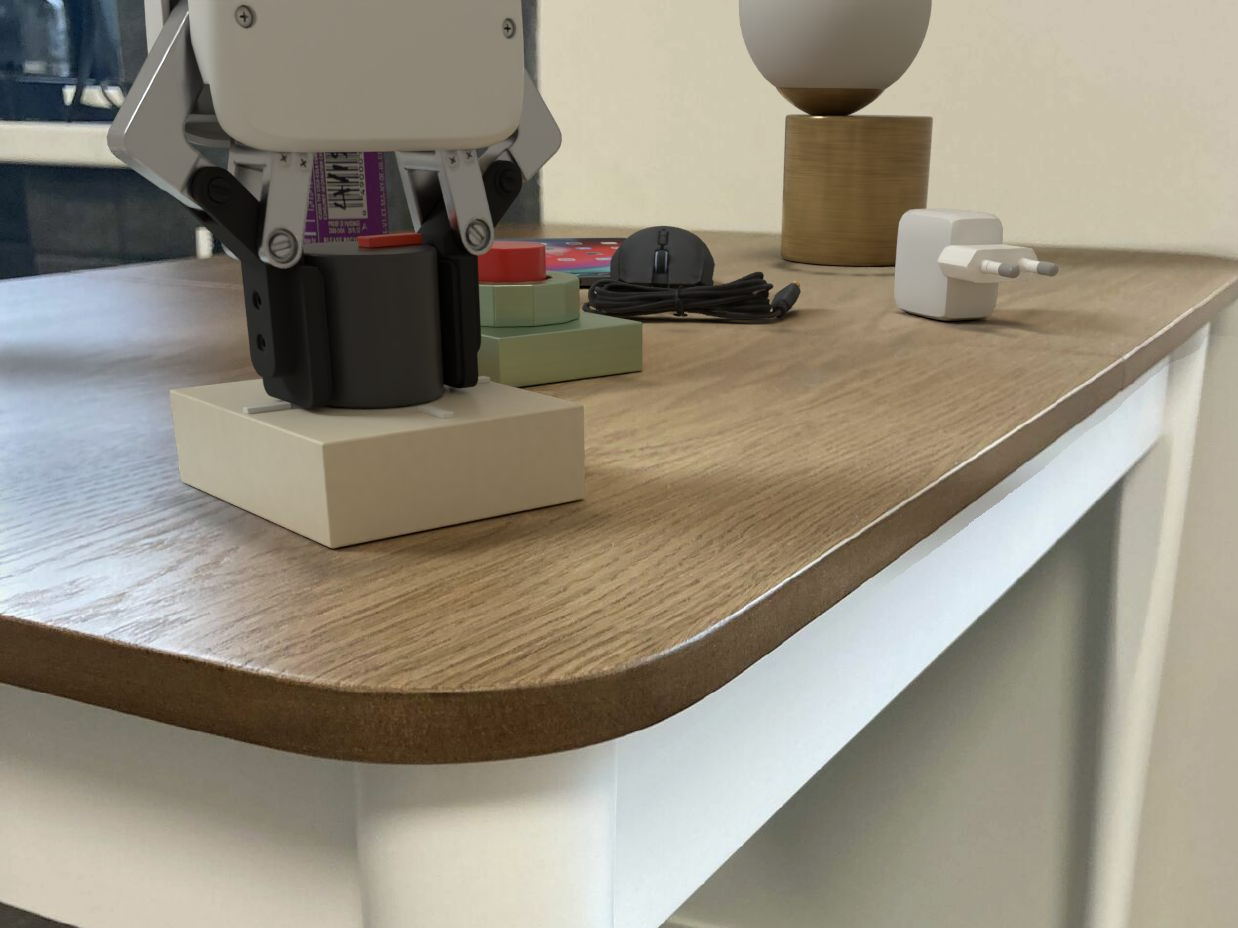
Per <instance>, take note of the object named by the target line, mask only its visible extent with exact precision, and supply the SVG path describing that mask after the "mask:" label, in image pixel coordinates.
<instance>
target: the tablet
mask: <svg viewBox="0 0 1238 928" xmlns="http://www.w3.org/2000/svg"><path fill="white" fill-rule="evenodd" d="M627 238H628V237H561V238H560V237H552V238H551V237H550V238H549V237H547V238H546V237H545V238H543V237H542V238H541V237H540V238H537V237H536V238H494V241H523V242H535V243H541V244H544V245H545V251H546V270H548V271H557V272H563V273H570V274H574V275H575V276H576V277H578V278H579V287H581V286H583V287H584V286H592V284H594V283H595V282H597V281H599V280H602V279H609V280H610V260H611V258H612V256H613V254H614V253H615V252H616V250H617V249H618V247H619V246H620V245H621V243H622V242H623V241H624V240H626V239H627Z"/></svg>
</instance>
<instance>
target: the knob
mask: <svg viewBox="0 0 1238 928" xmlns="http://www.w3.org/2000/svg"><path fill="white" fill-rule="evenodd" d="M303 250H304V262H305V265H307V266H313V267H318V270H319V271H320V272H321V274H322V276H323V281H324V292H325V304H326V316H327V329H328V341H329V353H330V366H331V378H332V390H333V397H332V400H331V401H328V404H327V405H326V406H333V407H346V408H383V407H397V406H406V405H413V404H419V403H424V402H428V401H431V400H434V399H437V398H439V397H441V396H442V395H443V393H444V380H443V361H442V342H441V322H440V303H439V284H438V265H437V250H436V248H435V247H433V246H430V245H425V244H422V234H420V233H415V232H403V233H402V232H398V233H389V234H385V235H373V236H360V237H358V241H348V242H325V243H312V244H304V245H303Z"/></svg>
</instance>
